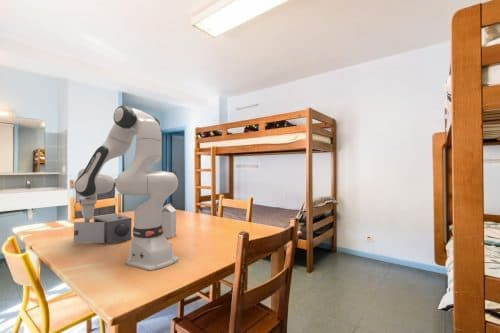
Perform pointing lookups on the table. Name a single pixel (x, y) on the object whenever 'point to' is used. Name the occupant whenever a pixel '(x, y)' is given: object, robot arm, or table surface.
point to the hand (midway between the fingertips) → (86, 225)
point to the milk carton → (168, 221)
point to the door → (89, 232)
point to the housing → (116, 227)
